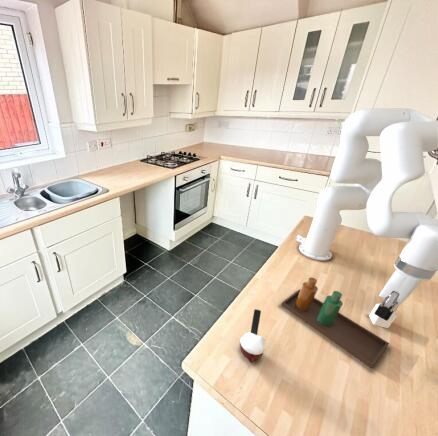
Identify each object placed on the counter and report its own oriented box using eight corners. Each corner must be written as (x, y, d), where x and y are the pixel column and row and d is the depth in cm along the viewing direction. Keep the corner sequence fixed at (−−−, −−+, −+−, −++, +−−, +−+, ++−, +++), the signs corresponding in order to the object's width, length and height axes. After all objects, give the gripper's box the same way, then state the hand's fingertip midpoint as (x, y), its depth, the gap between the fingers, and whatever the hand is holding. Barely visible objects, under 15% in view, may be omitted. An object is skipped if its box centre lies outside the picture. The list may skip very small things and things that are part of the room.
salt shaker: (372, 325, 76) (386, 304, 71) (367, 315, 79) (380, 294, 75) (388, 329, 75) (403, 308, 70) (382, 319, 78) (397, 298, 73)
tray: (280, 306, 83) (282, 302, 82) (298, 293, 88) (300, 288, 87) (370, 369, 64) (373, 365, 63) (386, 347, 70) (389, 343, 69)
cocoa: (254, 372, 64) (263, 343, 59) (232, 356, 68) (239, 328, 63) (267, 347, 70) (277, 319, 65) (247, 334, 74) (254, 306, 68)
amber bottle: (292, 304, 83) (302, 278, 77) (299, 299, 85) (309, 273, 79) (305, 313, 80) (316, 286, 74) (311, 307, 82) (323, 281, 76)
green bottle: (313, 319, 78) (326, 292, 72) (320, 313, 80) (333, 286, 74) (328, 328, 75) (342, 301, 69) (334, 322, 77) (349, 295, 71)
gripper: (406, 249, 73) (380, 293, 82) (385, 270, 65) (358, 316, 74) (442, 263, 67) (409, 308, 76) (424, 288, 59) (389, 335, 68)
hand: (384, 312), depth 75 cm, fingers closed on salt shaker, 5 cm apart
